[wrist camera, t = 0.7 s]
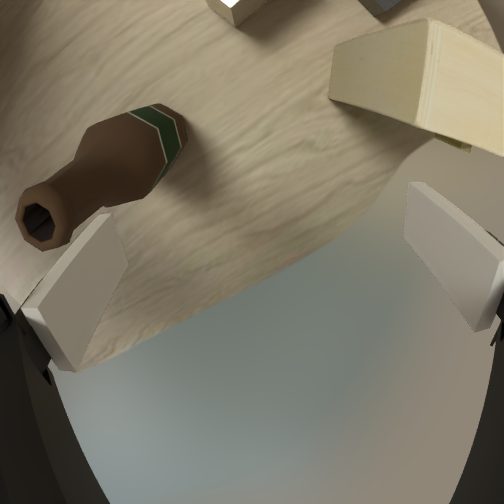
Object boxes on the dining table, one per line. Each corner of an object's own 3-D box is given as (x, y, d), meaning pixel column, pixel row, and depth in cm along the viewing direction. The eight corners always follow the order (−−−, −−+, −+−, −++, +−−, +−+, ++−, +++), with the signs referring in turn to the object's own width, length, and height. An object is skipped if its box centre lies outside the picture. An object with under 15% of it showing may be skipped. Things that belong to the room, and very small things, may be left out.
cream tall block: (324, 105, 32) (413, 138, 14) (332, 44, 29) (430, 12, 11) (387, 118, 33) (508, 170, 15) (396, 61, 29) (526, 66, 11)
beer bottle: (194, 106, 32) (104, 153, 12) (184, 171, 36) (106, 301, 15) (129, 99, 32) (-20, 146, 11) (123, 162, 35) (-2, 273, 15)
